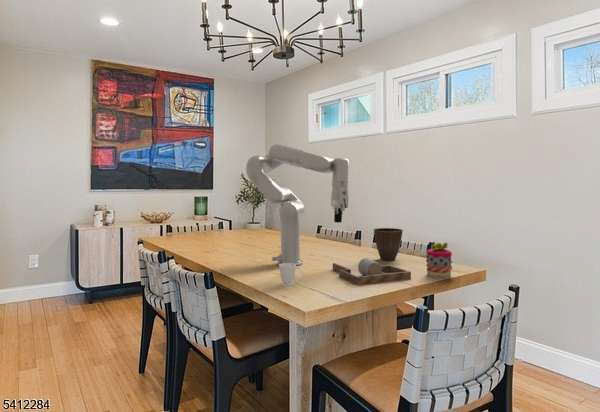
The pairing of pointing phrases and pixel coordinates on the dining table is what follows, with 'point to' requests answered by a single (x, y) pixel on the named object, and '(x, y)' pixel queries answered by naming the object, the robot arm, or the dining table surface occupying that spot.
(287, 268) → the cup
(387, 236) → the plant pot
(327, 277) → the dining table surface
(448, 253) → the cake
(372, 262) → the ceramic mug
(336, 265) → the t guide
